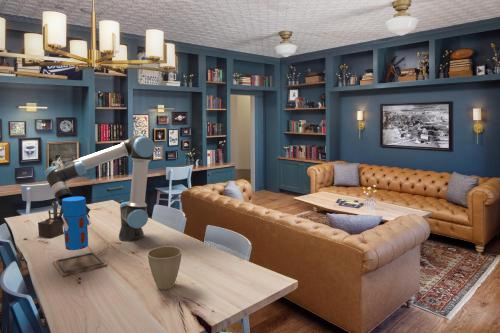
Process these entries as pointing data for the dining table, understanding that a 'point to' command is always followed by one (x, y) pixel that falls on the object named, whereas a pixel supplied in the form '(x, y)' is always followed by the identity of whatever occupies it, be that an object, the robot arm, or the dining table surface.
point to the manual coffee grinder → (50, 227)
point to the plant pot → (164, 265)
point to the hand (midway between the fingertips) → (78, 226)
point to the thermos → (75, 223)
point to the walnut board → (79, 264)
